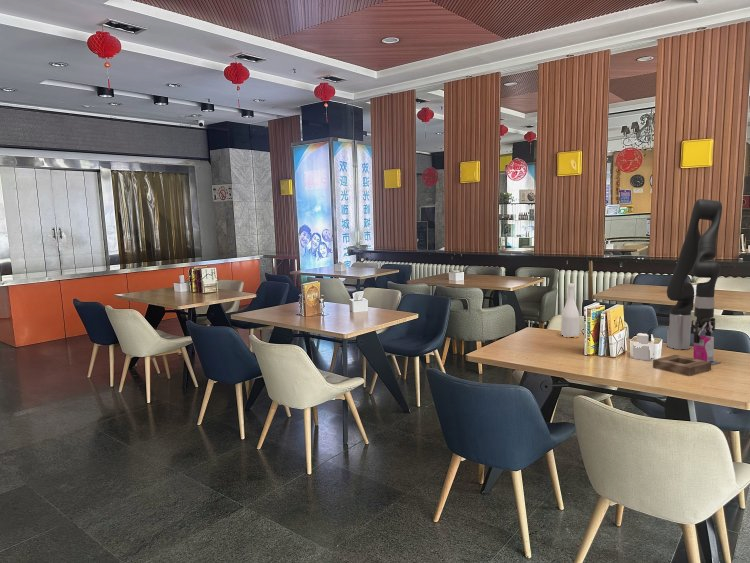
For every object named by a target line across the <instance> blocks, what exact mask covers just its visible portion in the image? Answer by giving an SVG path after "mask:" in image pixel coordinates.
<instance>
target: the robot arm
mask: <svg viewBox="0 0 750 563" xmlns="http://www.w3.org/2000/svg"><path fill="white" fill-rule="evenodd" d="M722 213H723V204H722V202H721V201H719V200H711V199H704V198H702V199H701V198H699V199H696V201H695V203H694V204H693V208H692V212H691V216H690V219H689V225H688V228H687V231H686V235H685V238H684V241H683V244H682V246H681V250H680V253H679V256H678V259H677V263H676V265H675V268H674V271H673V273H672V276H671V278H670V281H669V283H668V285H667V288H666V296H667V298H668V300H670V301H672V302H676V304H675V305H673V306H671V307H670V309H669V324H668V325H669V326H668V328H667V332H666V347H667V346H668V348H670V349H673V348H674V350H681V349H685V350H689V348H691V347H690V346H691V334H693V344H694V343H697V344H698V343H700V335H701V333H702V332H703V331H705V333H704V335H705V336H711V337H712V333H713V332H715V331H716V318H715V317H714V315H715V288H716V284H717V282H718V279H719V276H720V274H721V271H722V270H721V269H722V268H721V265H720V264H719V263H718V262H715V261H711V260H714V259H715V258H716V257H717V241H718V240H717V239H718V235H719V229H720V226H721V219H722ZM700 220H702V221H703V220H705V221H711V222H710V225H709V227H708V228H707V229H706V230H705V232H704V233H703V234H702V235H701V233H700V228H699V223H700ZM690 273H692V275H693V276H694V277H696V278H698V279H699V278H701V279H703V278H704V279H705V278H706V279H709V280H708V281H705V282H698V283H697V284H696V287H694V285H693V284H692V283H691V282H689V281H686V279H687V278H688V276H689V275H690ZM695 288H696V289H695ZM693 309H694V310H693ZM692 311H693V315H694V317H696V320H692V319H691V318H692Z"/></svg>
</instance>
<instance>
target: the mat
mask: <svg viewBox="0 0 750 563" xmlns="http://www.w3.org/2000/svg"><path fill="white" fill-rule="evenodd" d="M713 361H714V362H712V363H711V366H715V365H718V364H721V363H722V362H721V361H717V360H713Z"/></svg>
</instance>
